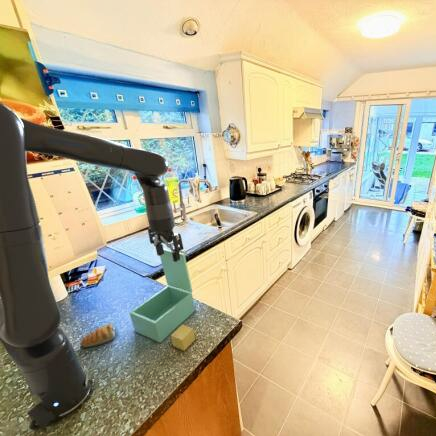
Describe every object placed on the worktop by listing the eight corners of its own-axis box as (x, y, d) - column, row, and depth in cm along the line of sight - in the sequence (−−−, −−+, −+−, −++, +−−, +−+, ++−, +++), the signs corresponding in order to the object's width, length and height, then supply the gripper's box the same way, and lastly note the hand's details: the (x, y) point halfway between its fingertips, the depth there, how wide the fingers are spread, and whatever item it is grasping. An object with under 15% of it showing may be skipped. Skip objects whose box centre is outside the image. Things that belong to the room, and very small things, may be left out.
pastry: (81, 353, 77) (78, 345, 76) (82, 340, 82) (78, 331, 81) (116, 338, 83) (113, 330, 81) (115, 326, 88) (112, 318, 86)
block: (184, 351, 78) (181, 340, 77) (173, 346, 80) (170, 335, 78) (195, 339, 83) (193, 328, 81) (184, 334, 84) (182, 324, 83)
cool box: (160, 342, 81) (154, 323, 78) (135, 331, 86) (129, 312, 82) (195, 310, 96) (192, 293, 92) (172, 302, 100) (168, 285, 97)
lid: (182, 254, 85) (193, 248, 89) (157, 248, 89) (168, 242, 94) (191, 292, 92) (200, 285, 96) (167, 284, 96) (177, 277, 101)
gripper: (135, 214, 77) (145, 257, 83) (164, 222, 71) (173, 268, 77) (157, 208, 83) (165, 248, 89) (184, 215, 77) (191, 257, 83)
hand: (168, 257), depth 83 cm, fingers open, 8 cm apart
